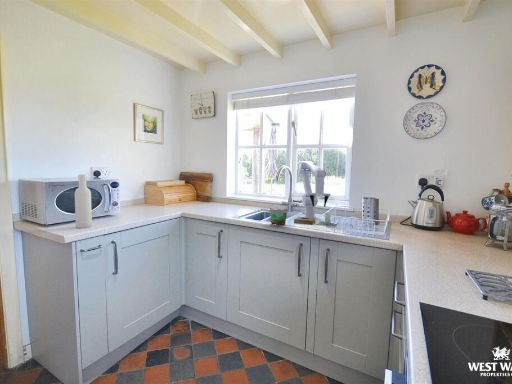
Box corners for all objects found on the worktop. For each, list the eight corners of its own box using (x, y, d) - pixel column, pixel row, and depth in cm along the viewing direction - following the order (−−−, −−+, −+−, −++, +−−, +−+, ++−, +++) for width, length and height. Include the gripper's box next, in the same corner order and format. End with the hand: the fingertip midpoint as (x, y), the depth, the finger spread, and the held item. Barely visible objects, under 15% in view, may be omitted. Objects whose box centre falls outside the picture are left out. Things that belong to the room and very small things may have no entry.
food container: (265, 224, 167) (266, 208, 166) (269, 222, 172) (270, 207, 171) (283, 226, 161) (284, 210, 160) (287, 224, 166) (287, 209, 166)
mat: (319, 221, 181) (319, 220, 181) (337, 222, 177) (337, 222, 177) (317, 224, 168) (317, 224, 168) (336, 226, 164) (336, 226, 164)
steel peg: (325, 223, 171) (325, 211, 170) (325, 222, 174) (326, 211, 174) (329, 224, 170) (330, 212, 169) (330, 223, 173) (330, 211, 173)
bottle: (74, 226, 149) (72, 174, 146) (89, 224, 154) (88, 174, 152) (77, 229, 143) (75, 174, 141) (94, 227, 149) (92, 174, 147)
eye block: (297, 220, 184) (297, 216, 183) (314, 221, 179) (315, 217, 179) (293, 222, 172) (294, 219, 172) (312, 224, 168) (312, 220, 168)
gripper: (307, 186, 176) (307, 206, 177) (329, 187, 171) (329, 207, 172) (309, 186, 183) (309, 205, 184) (330, 187, 178) (330, 206, 178)
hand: (318, 206), depth 178 cm, fingers open, 7 cm apart
